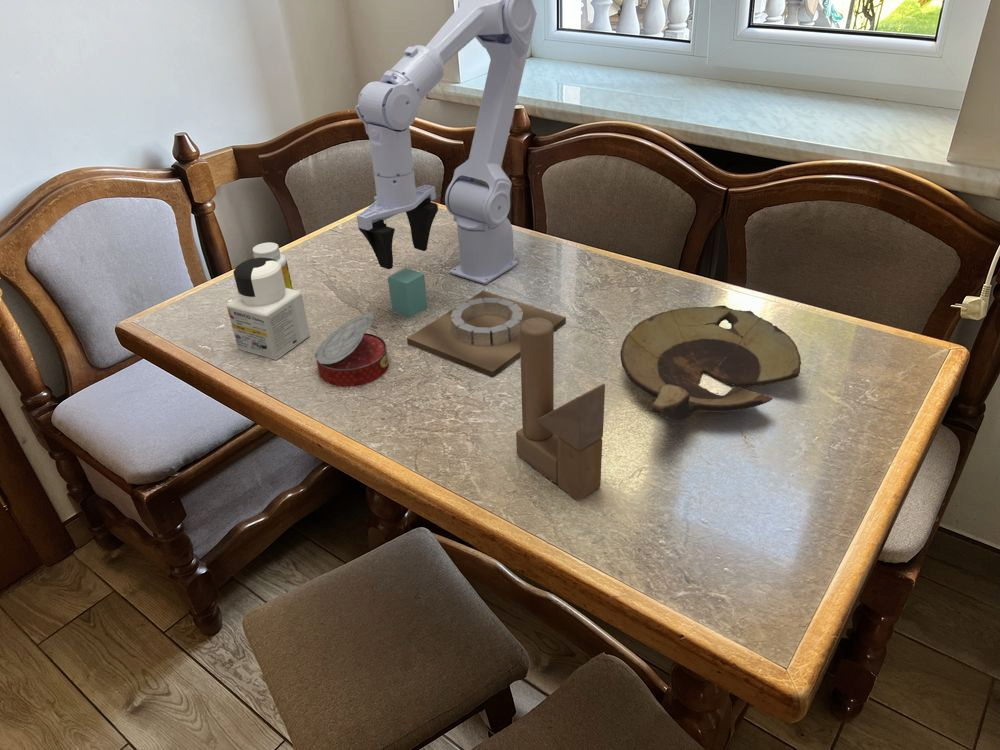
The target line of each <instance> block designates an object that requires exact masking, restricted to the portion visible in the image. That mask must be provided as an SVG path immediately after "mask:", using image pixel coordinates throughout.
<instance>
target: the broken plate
mask: <svg viewBox="0 0 1000 750" xmlns="http://www.w3.org/2000/svg"><path fill="white" fill-rule="evenodd" d="M723 321H727V322H728V324H730V325H731V326H730V328H726V327H722V326H720V324H721V323H722V322H723ZM798 349H799V348H798V346H797V344H796V343H795V341H794V339H792V338H791V336H790V335H789V334H787V333H786V332H785V331H783V330H782V329H781V328H779V327H778V326H777V325H773V323H772V322H770V321H768V320H765V319H764V318H763V317H759V316H758V315H756V314H755V313H754V312H753V311H752V310H741V309H733V308H730V307H728V306H726V305H722V304H721V305H715V306H693V307H682V308H681V307H679V308H676V309H671V310H667V311H662V312H660V313H656V314H654V315H651V316H650V317H647V318H646V319H643V320H640V321H639V322H638V323H637V324H635V326H633V328H632V330H630V331H629V332H628V333H627V335H626V336H625V337H624V340H623V342H622V344H621V348H620V363H621V365H622V368H623V370H624V372H625V374H626V376H627V377H628V379H629V380H630V381H631V382H632V384H634V385H635V386H636V387H637V388H638V389H640V390H642V391H643V392H645V393H646V394H648V395H649V396H651V397H652V398H653V399H655V400H654V401H653V402H652V404H651V412H652V414H656V415H659V416H661V417H664V418H667V419H668V420H671V421H673V422H682V421H684V420H686V419H687V418H688V417H689V416H691V415H692V414H695V413H701V412H705V413H706V412H717V413H718V412H719V413H720V412H722V413H727V412H736V411H742V410H747V409H751V408H755V407H758V406H761V405H764V404H767V403H769V402H771V401H772V400H773V399H774V398H773V397H772V396H769V395H765V394H764V393H758V392H755V391H750V390H748V389H746V388H750V387H751V388H752V387H756V386H766V385H770V384H775V383H780V382H781V383H782V382H785V381H790V380H792V379H796V378H798V377H799V375H800V372H801V365H802V361H801V355H800V352H799V350H798ZM703 373H707V374H708V375H710V376H711V377H714V378H715V379H716V380H719V381H720V382H722V383H724V384H727V385H729V386H733V387H732V388H731V389H729V391H728V392H726V393H725V394H723V395H719V392H715V393H714V392H711V391H710V390H709V389H707V388H705V387H702V386H701V385H699V383H700V382H701V381H700V380H701V377H702V374H703ZM742 387H744V388H745V389H744V388H742Z"/></svg>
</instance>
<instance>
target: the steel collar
mask: <svg viewBox="0 0 1000 750" xmlns="http://www.w3.org/2000/svg"><path fill="white" fill-rule="evenodd" d="M466 301H467V300H466ZM453 309H455V310H453V312H452V314H451V317H450V319H451V330H452V333H453V334H454V336H455V337H456V338H457V339H459V341H462V342H464V343H467V344H470V345H472V344H474V346H491V344H492V345H493V346H495V345H499V344H503V343H507V342H509V341H512V340H513V339H515V338H516V337H517V336H519V335H520V325H521V324H522V322H523V310H522V309H521V308H520V307H519V306H518V305H517V304H515V303H514V302H511V301H508V300H505V299H500V298H484V299H482V298H478V299H474V300H470V301H467V303H466V302H465V301H464V302H462V303H461V305H460V304H459V305H458V306H455V307H454V308H453ZM482 315H498V316H501V317H504V318H507V319H508V320H509V321H507V322H506V323H504V324H503V325H499V326H495V327H490V328H486V327H474V326H472V325H469V324H466V323H465V322H467V321H468V320H470V319H471V318H474V317H478V316H482Z"/></svg>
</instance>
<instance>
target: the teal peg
mask: <svg viewBox="0 0 1000 750" xmlns="http://www.w3.org/2000/svg"><path fill="white" fill-rule="evenodd" d="M387 282H388V283H387V284H388V290H389V297H390V298H389V299H390V305H391V311H392V312H393V313H396V314H399V315H401V316H404V317H407V318H409V319H411V318H413V317H415V316H416V315H418V314H420V313H421V312H423V311H425V310H426V309H428V297H427V287H426V286H427V285H426V278H425V273H423V272H419V271H417V270H414V269H410V268H407V267H404V268H402V269H400V270H398V271H397V272H395V273H393V274H391V275H389V276H387Z"/></svg>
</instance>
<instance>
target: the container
mask: <svg viewBox="0 0 1000 750" xmlns="http://www.w3.org/2000/svg"><path fill="white" fill-rule="evenodd" d="M233 277H234V281H235V285H236V288H237V293H238V296H237V297H235V298H233V299H232V300H230V301H228V303H227V304H226V309H227V312H228V317H229V320H230V323H231V327H232V331H233V335H234V338H235V342H236V346H237V349H238V350H241V351H245V352H247V353H252V354H255V355H259V356H262V357H266V358H269V359H273V360H276V361H277V360H279V359H280V358H281V357H283V356H285V354H287V353H288V352H290V351H292V349H294V348H296V347H297V346H298V345H299V344H301V343H302V342H304V341H305V340H306V339H308V338H309V337H310V336H311V335H310V330H309V329H310V328H309V324H308V319H307V314H306V310H305V303H304V299H303V295H302V292H301V290H298V289H289V288H286V287H285V283H284V278H283V273H282V269H281V264H280V263H279V262H278V261H276V260H274V259H271V258H254V257H253V258H250V259H247V260H244V261H242V262H241V263H238V264H237V265H236V267H235V268H234V270H233Z"/></svg>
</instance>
